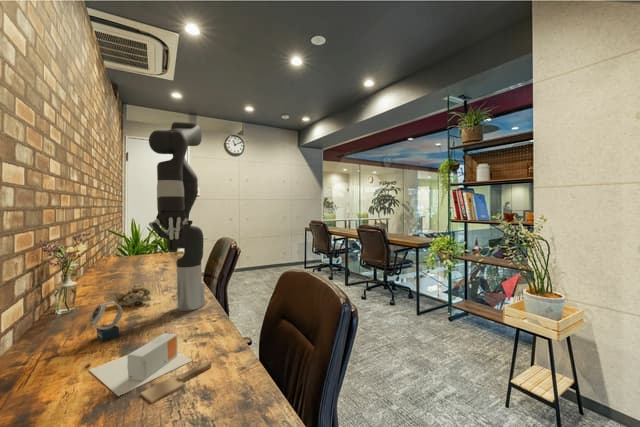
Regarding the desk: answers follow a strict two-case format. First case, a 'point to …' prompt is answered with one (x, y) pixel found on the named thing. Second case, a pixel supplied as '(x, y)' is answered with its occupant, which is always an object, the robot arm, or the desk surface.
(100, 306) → the watch
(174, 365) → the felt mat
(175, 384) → the wooden turner
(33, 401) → the desk surface
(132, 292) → the mineral formation
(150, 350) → the skincare box
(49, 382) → the desk surface
